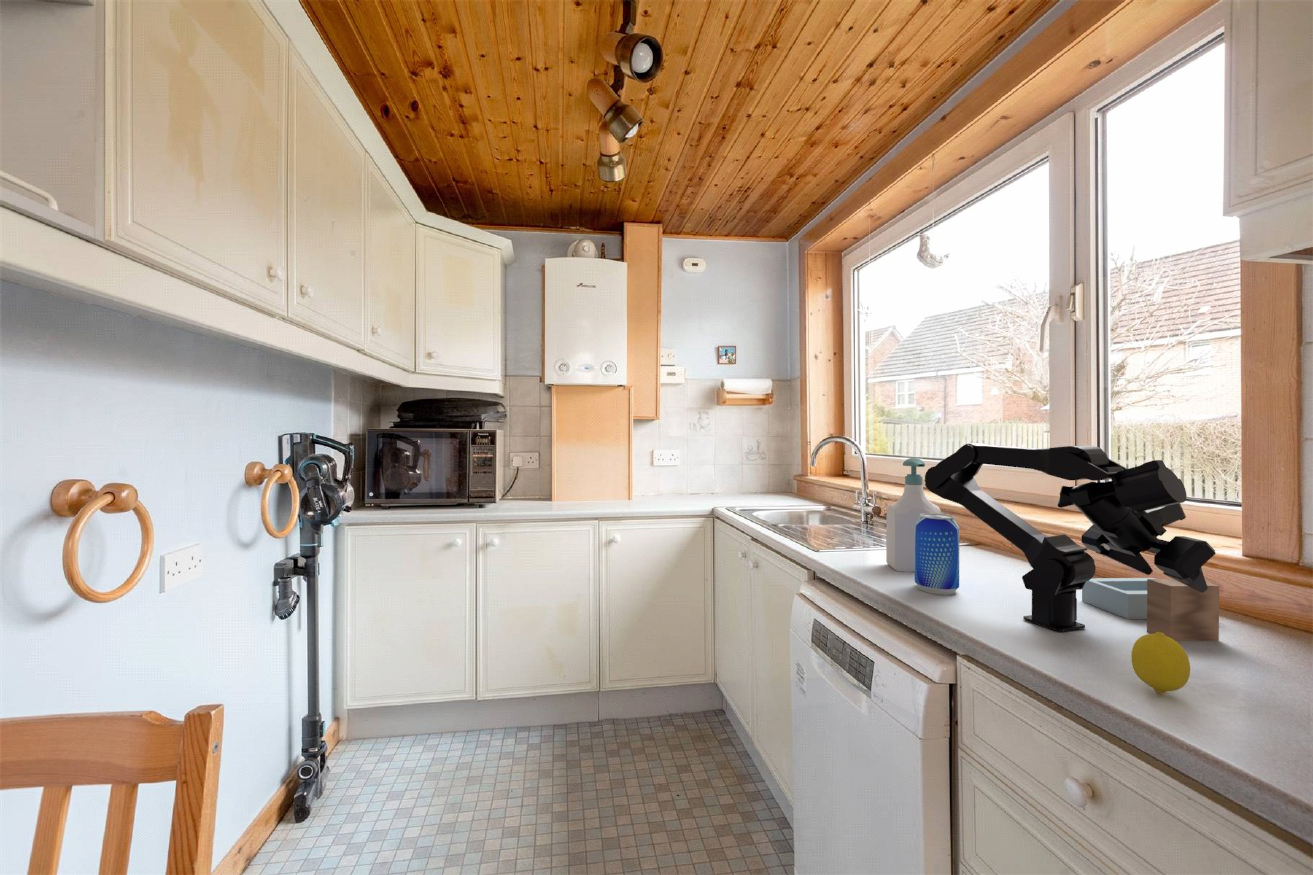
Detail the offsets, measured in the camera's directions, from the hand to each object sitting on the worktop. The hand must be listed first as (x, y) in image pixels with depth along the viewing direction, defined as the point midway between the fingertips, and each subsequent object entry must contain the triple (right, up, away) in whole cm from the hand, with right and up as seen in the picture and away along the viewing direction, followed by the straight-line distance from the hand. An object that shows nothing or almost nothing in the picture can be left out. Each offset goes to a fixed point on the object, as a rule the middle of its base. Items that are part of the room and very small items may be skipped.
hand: (1175, 581), depth 86 cm
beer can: (-26, -9, +26) cm, 38 cm away
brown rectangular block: (+2, -9, +1) cm, 9 cm away
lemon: (-20, -10, -18) cm, 29 cm away
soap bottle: (-22, -9, +43) cm, 49 cm away
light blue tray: (+7, -9, +13) cm, 18 cm away
